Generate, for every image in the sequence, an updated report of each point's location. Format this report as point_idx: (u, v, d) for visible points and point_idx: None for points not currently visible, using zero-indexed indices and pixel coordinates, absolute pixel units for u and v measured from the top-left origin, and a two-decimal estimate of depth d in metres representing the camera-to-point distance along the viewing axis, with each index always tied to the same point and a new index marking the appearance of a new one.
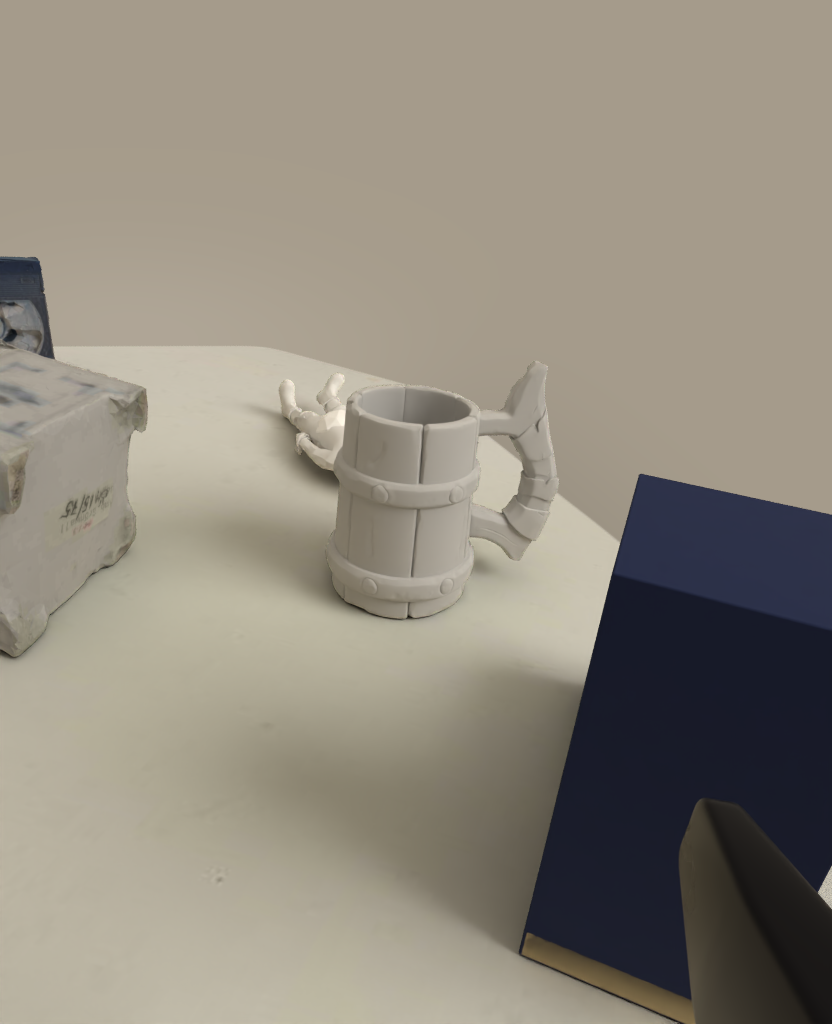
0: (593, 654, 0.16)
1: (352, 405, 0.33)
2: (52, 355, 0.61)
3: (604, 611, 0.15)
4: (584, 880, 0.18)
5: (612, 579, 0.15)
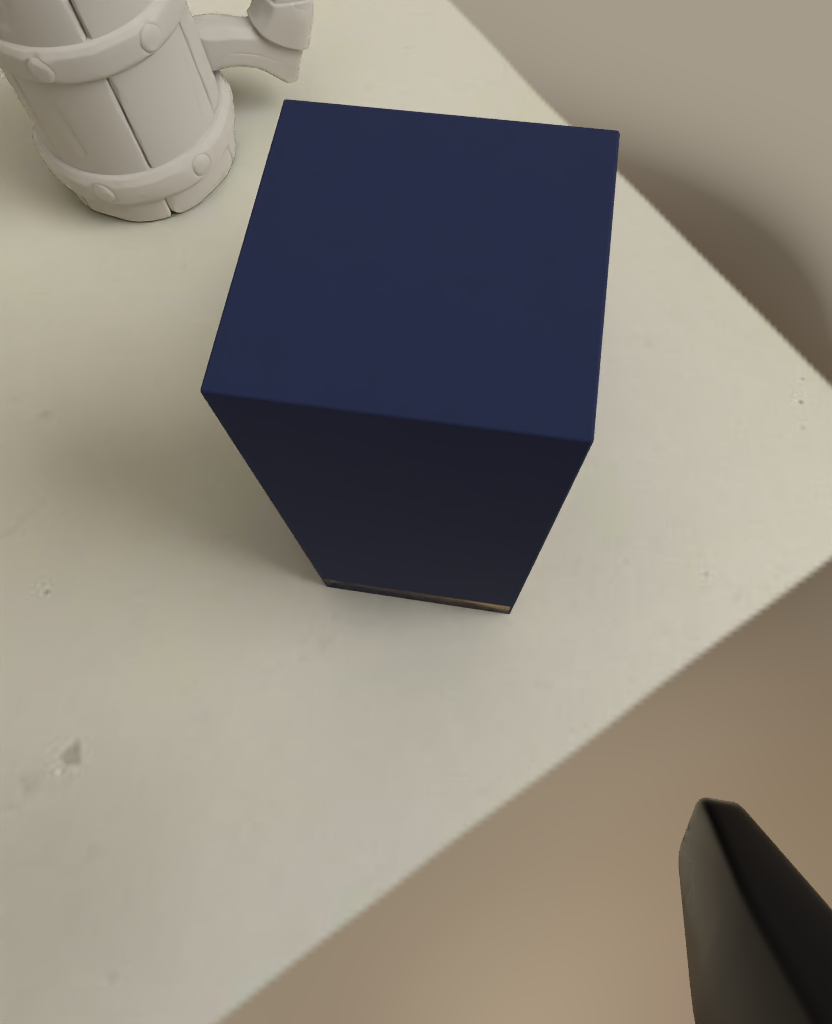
0: (237, 448, 0.13)
1: None
2: None
3: (219, 419, 0.12)
4: (346, 559, 0.19)
5: None
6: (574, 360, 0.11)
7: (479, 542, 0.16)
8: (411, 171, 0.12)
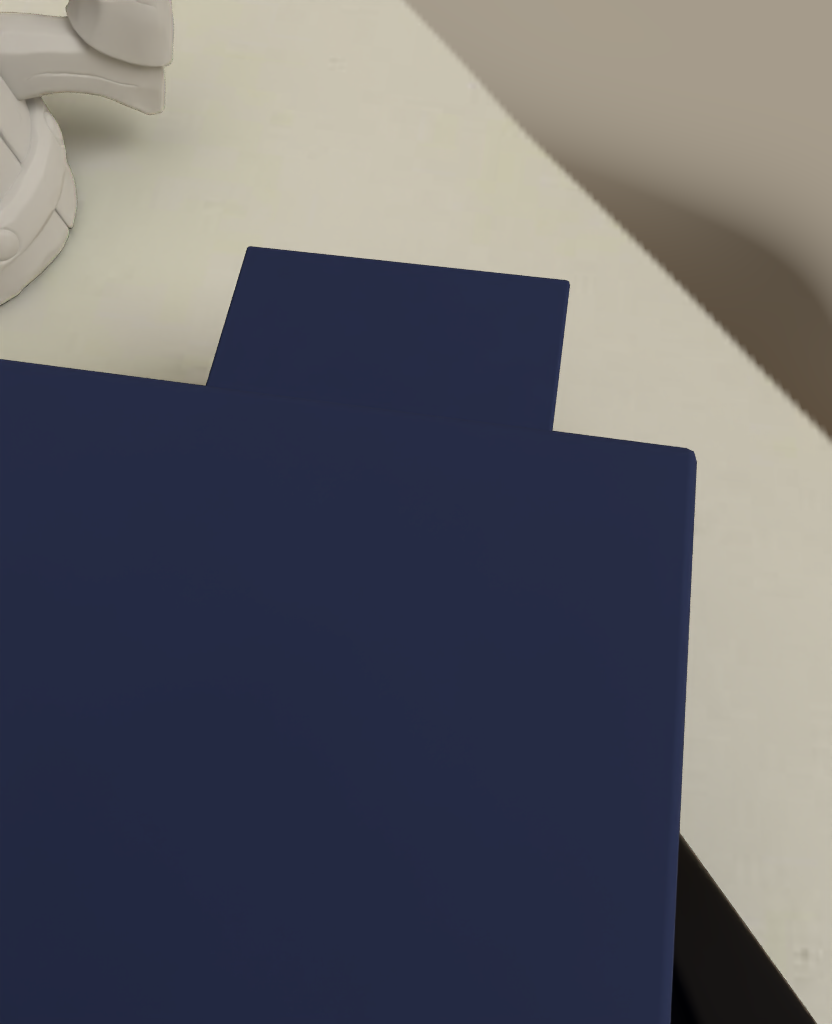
0: None
1: None
2: None
3: None
4: None
5: None
6: None
7: None
8: None
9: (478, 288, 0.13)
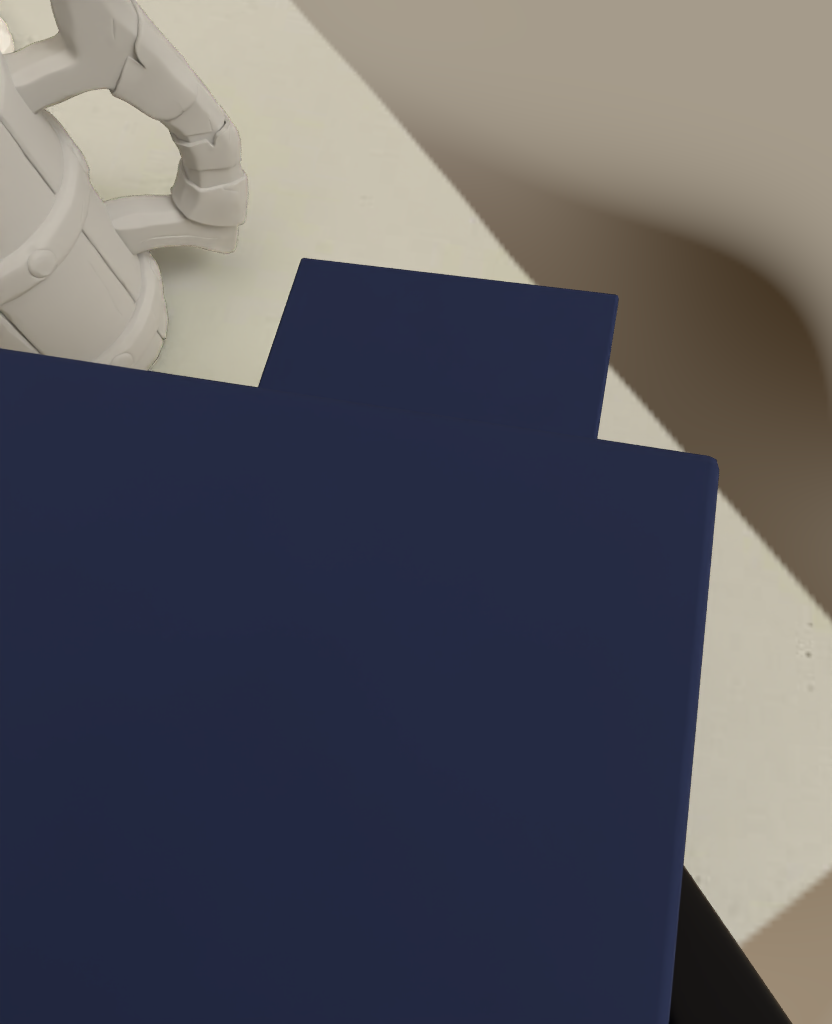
0: None
1: None
2: None
3: None
4: None
5: None
6: None
7: None
8: None
9: (526, 302, 0.13)
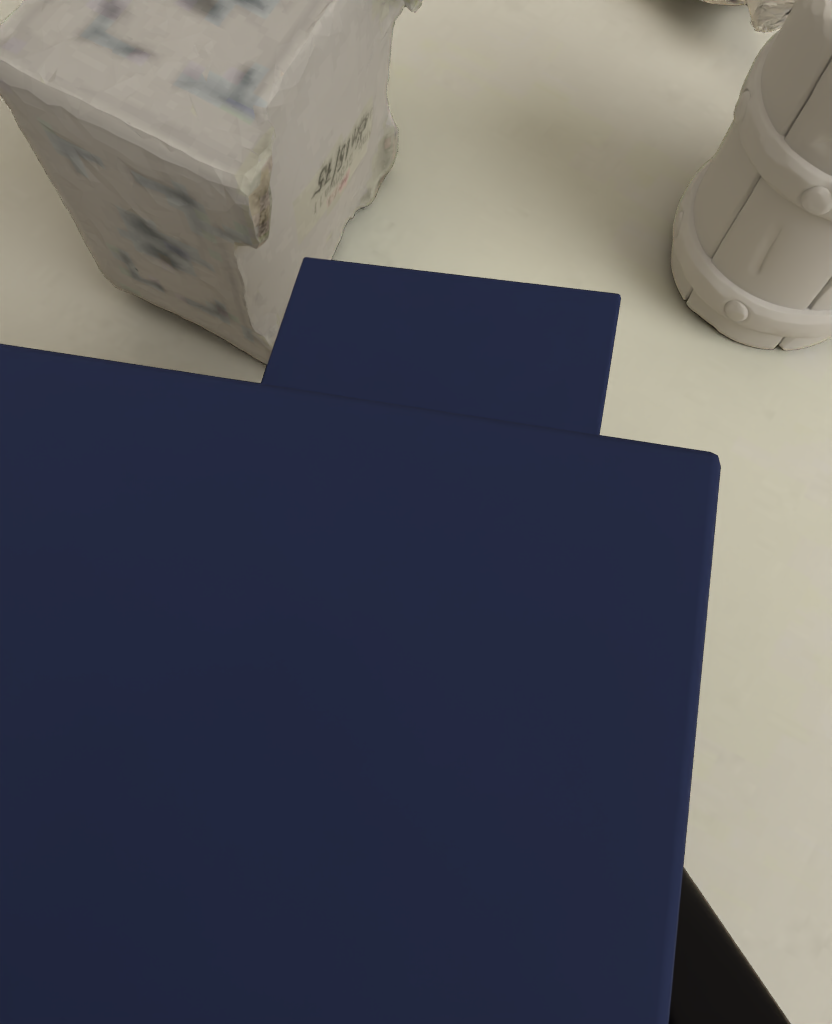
0: None
1: (826, 3, 0.16)
2: None
3: None
4: None
5: None
6: None
7: None
8: None
9: (527, 301, 0.13)
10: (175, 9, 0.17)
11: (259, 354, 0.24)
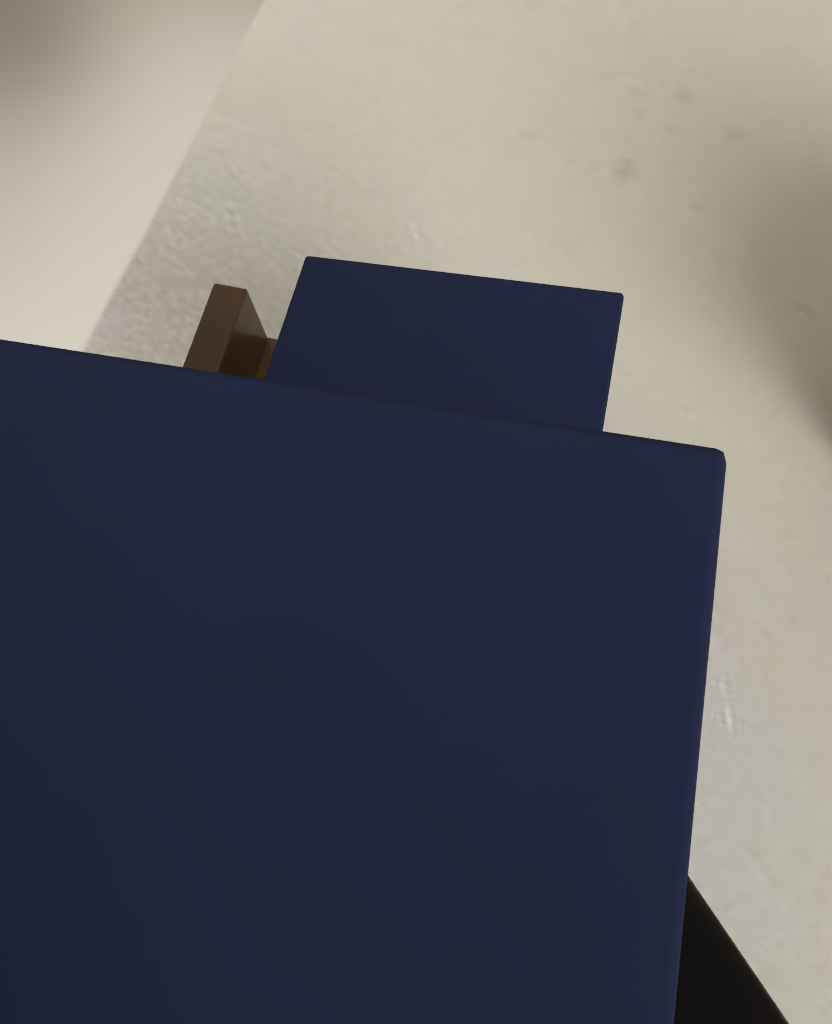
0: None
1: None
2: None
3: None
4: None
5: None
6: None
7: None
8: None
9: (530, 300, 0.13)
10: None
11: None
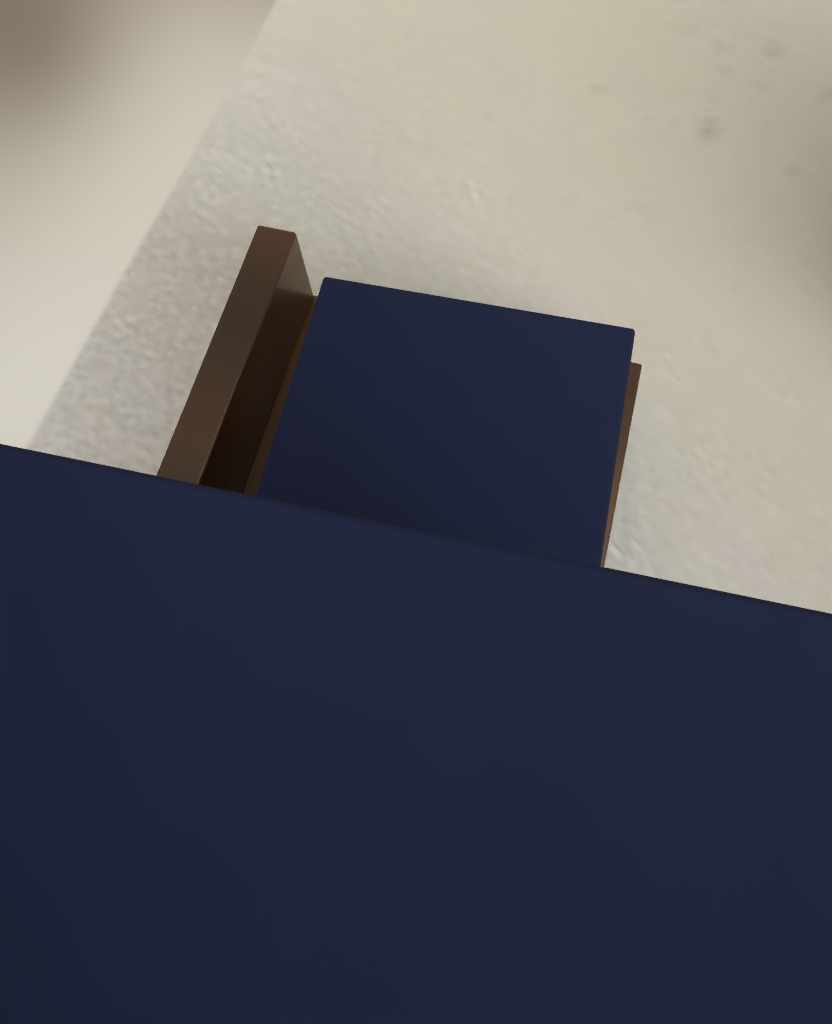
0: None
1: None
2: None
3: None
4: None
5: None
6: None
7: None
8: (112, 749, 0.03)
9: (546, 333, 0.13)
10: None
11: None
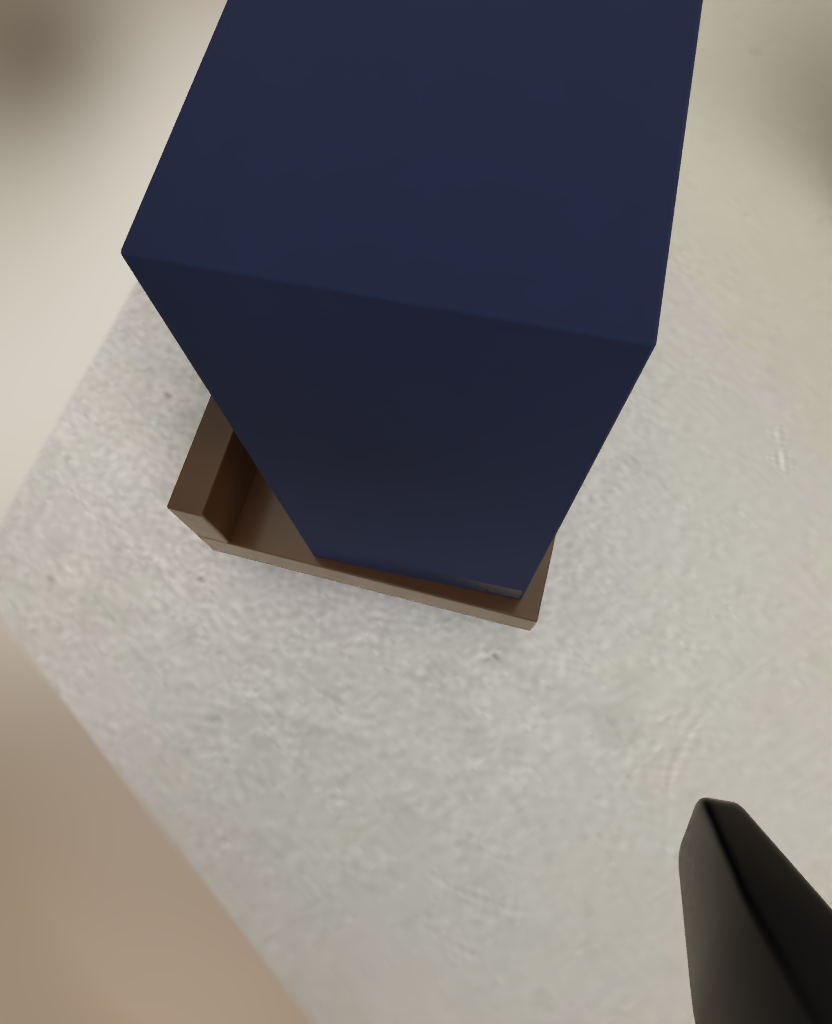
0: (184, 352, 0.10)
1: None
2: None
3: (154, 303, 0.09)
4: (332, 521, 0.16)
5: None
6: (634, 237, 0.08)
7: (489, 502, 0.13)
8: None
9: None
10: None
11: None
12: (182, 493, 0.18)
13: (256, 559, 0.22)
